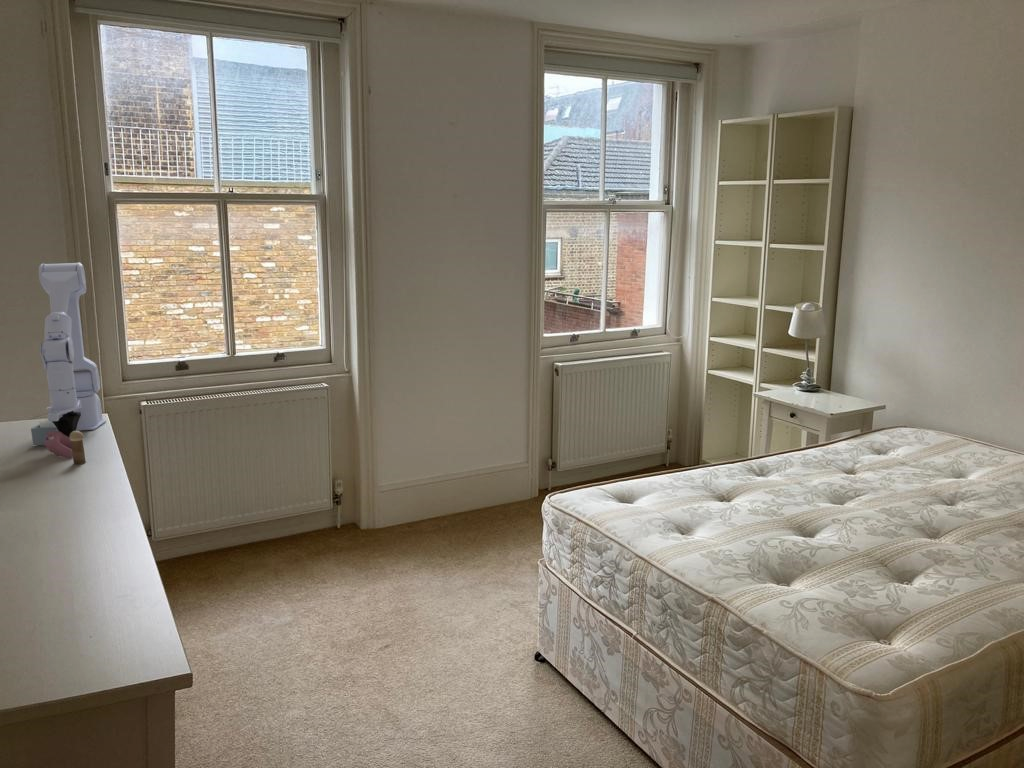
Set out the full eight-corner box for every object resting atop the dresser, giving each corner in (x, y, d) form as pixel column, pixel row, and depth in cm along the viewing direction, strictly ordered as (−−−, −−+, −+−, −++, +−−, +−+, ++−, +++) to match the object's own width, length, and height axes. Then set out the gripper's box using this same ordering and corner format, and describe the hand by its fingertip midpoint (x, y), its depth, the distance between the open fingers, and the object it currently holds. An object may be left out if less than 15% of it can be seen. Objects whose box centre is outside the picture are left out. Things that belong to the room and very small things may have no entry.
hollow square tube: (43, 439, 210) (41, 422, 209) (68, 438, 211) (66, 421, 210) (33, 446, 204) (30, 428, 203) (58, 444, 205) (56, 427, 204)
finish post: (75, 461, 190) (71, 429, 189) (88, 460, 190) (84, 428, 189) (70, 465, 187) (66, 432, 186) (83, 464, 188) (79, 432, 186)
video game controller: (62, 455, 201) (44, 432, 198) (79, 445, 202) (62, 422, 199) (56, 466, 192) (37, 442, 189) (75, 455, 193) (56, 431, 190)
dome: (45, 433, 209) (43, 418, 208) (62, 432, 209) (59, 417, 208) (38, 437, 205) (36, 421, 204) (55, 436, 205) (53, 421, 204)
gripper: (57, 383, 205) (64, 436, 208) (31, 395, 191) (39, 452, 194) (87, 382, 206) (93, 434, 209) (63, 394, 192) (70, 450, 195)
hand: (69, 443), depth 202 cm, fingers closed
